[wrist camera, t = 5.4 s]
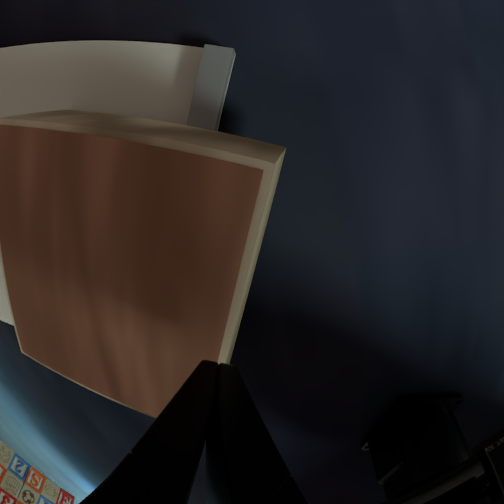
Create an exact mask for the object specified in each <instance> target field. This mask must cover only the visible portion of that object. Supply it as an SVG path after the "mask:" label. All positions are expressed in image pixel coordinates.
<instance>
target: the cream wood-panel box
mask: <svg viewBox="0 0 504 504" xmlns="http://www.w3.org/2000/svg"><path fill="white" fill-rule="evenodd" d="M285 151H286V147H282V146H278V145H274V144H270V143H266V142H262V141H258V140H254V139H250V138H245V137H241V136H237V135H232V134H227V133H223V132H218V131H213V130H208V129H203V128H198V127H193V126H188V125H182V124H176V123H171V122H165V121H159V120H152V119H146V118H139V117H132V116H124V115H116V114H108V113H99V112H90V111H79V110H57V111H46V112H37V113H29V114H21V115H14V116H7V117H1V118H0V259H1V265H2V271H3V277H4V283H5V288H6V293H7V298H8V302H9V307H10V311H11V315H12V320H13V324H14V327H15V331H16V335H17V338H18V342H19V345H20V349H21V352H22V353H23V354H25V355H27V356H28V357H30V358H32V359H33V360H35V361H37V362H38V363H40V364H42V365H44V366H45V367H47V368H49V369H51V370H52V371H54V372H56V373H58V374H60V375H62V376H63V377H65V378H67V379H69V380H71V381H73V382H75V383H77V384H79V385H81V386H83V387H85V388H87V389H89V390H91V391H93V392H95V393H97V394H100V395H102V396H104V397H106V398H108V399H111V400H113V401H115V402H117V403H120V404H122V405H124V406H127V407H129V408H132V409H134V410H136V411H139V412H141V413H144V414H146V415H149V416H152V417H154V418H157V417H158V415H159V414H160V413H161V412H162V410H163V409H164V408H165V407H166V405H167V404H168V403H169V401H170V400H171V399H172V398H173V396H174V395H175V394H176V392H177V391H178V390H179V389H180V387H181V386H182V385H183V384H184V382H185V381H186V380H187V378H188V377H189V376H190V374H191V373H192V372H193V371H194V369H195V368H196V367H197V365H198V364H199V363H200V362H201V361H202V360H210V361H215V362H217V363H218V365H219V364H220V363H226V364H229V363H230V360H231V356H232V352H233V349H234V345H235V341H236V337H237V334H238V330H239V326H240V322H241V319H242V315H243V311H244V307H245V304H246V300H247V296H248V292H249V289H250V285H251V281H252V277H253V273H254V270H255V266H256V262H257V258H258V254H259V251H260V247H261V243H262V239H263V235H264V232H265V228H266V224H267V220H268V216H269V212H270V209H271V205H272V201H273V197H274V193H275V189H276V185H277V182H278V178H279V174H280V170H281V166H282V162H283V158H284V155H285Z"/></svg>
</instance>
